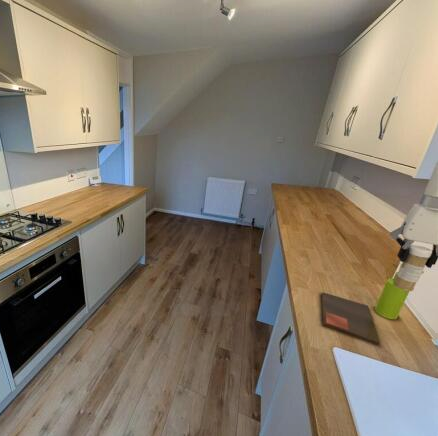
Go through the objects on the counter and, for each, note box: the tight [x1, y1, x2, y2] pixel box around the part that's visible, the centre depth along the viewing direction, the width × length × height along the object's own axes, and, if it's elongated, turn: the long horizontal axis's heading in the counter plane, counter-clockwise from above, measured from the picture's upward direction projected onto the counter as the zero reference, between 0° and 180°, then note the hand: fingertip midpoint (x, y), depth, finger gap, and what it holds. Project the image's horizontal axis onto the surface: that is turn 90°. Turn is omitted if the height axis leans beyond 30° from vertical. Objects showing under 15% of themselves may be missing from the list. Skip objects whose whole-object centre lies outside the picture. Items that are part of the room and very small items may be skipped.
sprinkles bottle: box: [393, 244, 432, 292], centre depth 70 cm, size 5×5×14 cm
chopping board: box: [321, 291, 380, 346], centre depth 84 cm, size 20×14×1 cm
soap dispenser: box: [374, 263, 425, 320], centre depth 82 cm, size 6×7×20 cm
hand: (414, 262), depth 69 cm, fingers closed on sprinkles bottle, 4 cm apart
